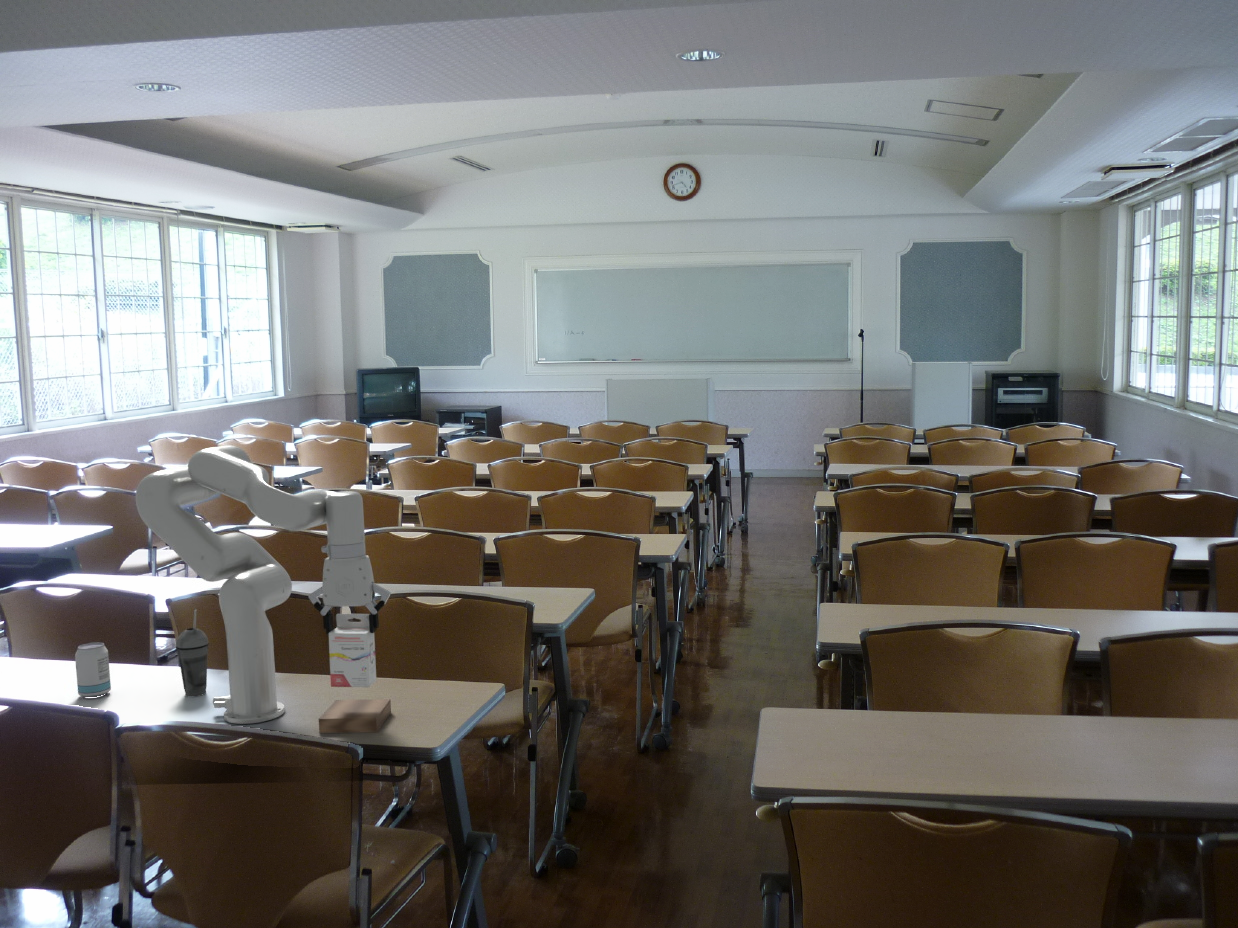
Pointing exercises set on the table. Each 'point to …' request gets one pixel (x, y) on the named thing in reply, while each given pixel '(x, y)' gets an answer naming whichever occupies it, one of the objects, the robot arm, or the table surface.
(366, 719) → the walnut base plate
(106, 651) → the beverage can
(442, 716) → the table surface
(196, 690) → the beverage cup
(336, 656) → the ink cartridge box
